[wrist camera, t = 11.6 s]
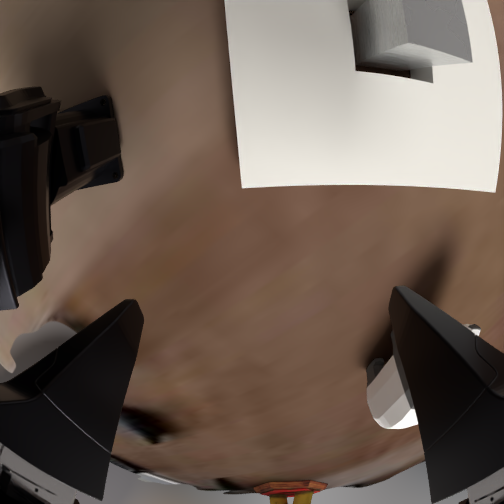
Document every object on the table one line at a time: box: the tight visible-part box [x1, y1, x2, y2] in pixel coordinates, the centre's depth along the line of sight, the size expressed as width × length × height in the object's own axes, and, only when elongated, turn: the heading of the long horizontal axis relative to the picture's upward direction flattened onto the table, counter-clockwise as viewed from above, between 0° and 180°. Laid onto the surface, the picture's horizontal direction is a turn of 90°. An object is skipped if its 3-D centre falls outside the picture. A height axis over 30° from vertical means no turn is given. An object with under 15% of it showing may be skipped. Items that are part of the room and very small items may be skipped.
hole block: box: [224, 0, 502, 192], centre depth 11 cm, size 18×18×3 cm
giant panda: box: [366, 324, 481, 429], centre depth 20 cm, size 15×6×10 cm, turn 170°
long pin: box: [350, 0, 473, 71], centre depth 9 cm, size 3×3×8 cm
